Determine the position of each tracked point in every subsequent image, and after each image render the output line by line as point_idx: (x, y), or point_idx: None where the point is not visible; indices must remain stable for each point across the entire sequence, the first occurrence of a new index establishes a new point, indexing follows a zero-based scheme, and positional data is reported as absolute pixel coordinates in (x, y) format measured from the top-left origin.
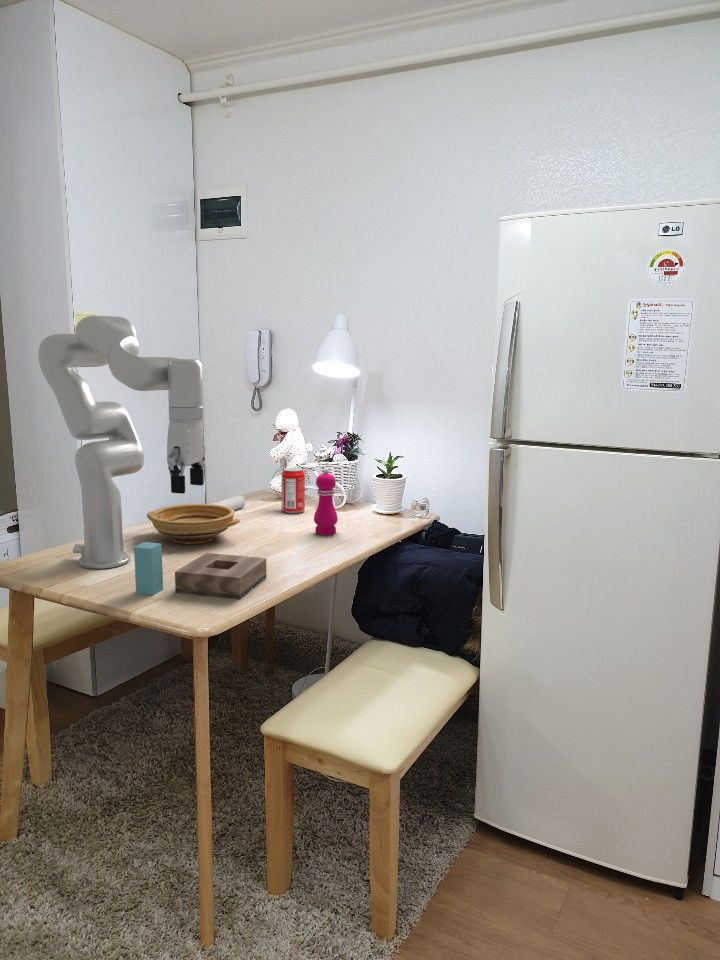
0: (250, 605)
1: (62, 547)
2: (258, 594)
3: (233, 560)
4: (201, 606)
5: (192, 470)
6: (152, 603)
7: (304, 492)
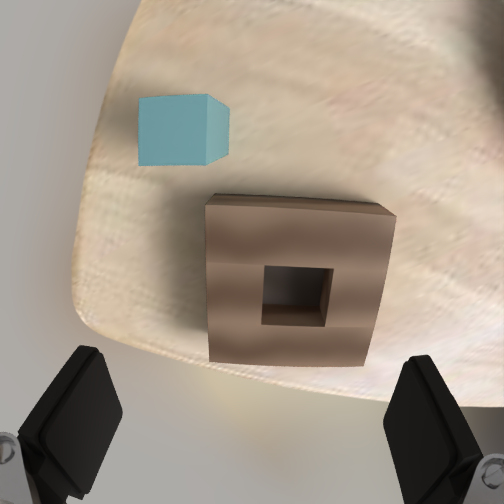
0: (193, 356)
1: None
2: None
3: (337, 310)
4: (156, 281)
5: (436, 462)
6: (138, 179)
7: None
